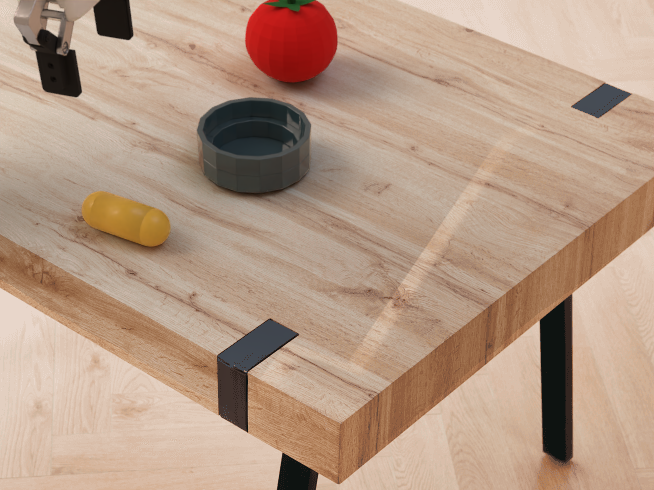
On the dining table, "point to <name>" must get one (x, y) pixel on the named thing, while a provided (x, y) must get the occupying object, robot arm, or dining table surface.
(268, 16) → the tomato
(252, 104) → the bowl
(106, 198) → the yellow capsule
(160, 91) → the dining table surface
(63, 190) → the dining table surface
